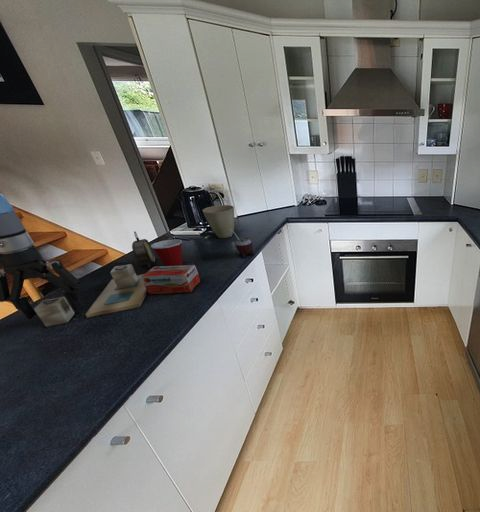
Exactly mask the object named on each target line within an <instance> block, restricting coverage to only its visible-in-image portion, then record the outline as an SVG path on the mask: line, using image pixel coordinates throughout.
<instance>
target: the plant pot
mask: <svg viewBox="0 0 480 512" xmlns="http://www.w3.org/2000/svg"><path fill="white" fill-rule="evenodd" d="M201 211H202V213H203V215H204V217H205V219H206V221H207V223H208V225H209V226H210V228H211V230H212V231H213V233H214V234H215V235H216V236H217V238H218V239H227V238H231V237H232V236H233V235H234V234H233V232H235V231H234V229H235V206H233V205H230V204H228V205H227V204H220V205H211V206H208V207H205V208H203V209H202V210H201ZM227 229H229V230H232V231H233V232H231V231H229V230H227Z"/></svg>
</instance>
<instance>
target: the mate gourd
mask: <svg viewBox="0 0 480 512" xmlns="http://www.w3.org/2000/svg"><path fill="white" fill-rule="evenodd" d="M227 230H229V229H227ZM229 231H231V232H233V235H234V236H235V237H236V239H237V240H236V242H235V248H236V251H238V252H239V256H242V258H243V259H245V258H246V257H248V256H251V257H252V256H254V254H253V247H254V245H253V242H252V240H251V239H250V238H248V237H242V238H241V237H240V238H239V237H238V235H237V234H236V232H235V231H232V230H229Z"/></svg>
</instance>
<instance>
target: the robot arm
mask: <svg viewBox="0 0 480 512" xmlns="http://www.w3.org/2000/svg"><path fill="white" fill-rule="evenodd" d="M0 265H1V266H2V267H3V268H0V303H5V302H10V303H11V304H12V305H13V307H14V308H15V309H16V310H17V311H21V312H22V313H23V314H24V316H25V317H26V319H27V320H32V319H33V318H34V317H35V316H36V315H37V313H36V311H35V310H34V308H33V306H32V305H31V304H30V302H29V300H28V299H27V298H26V297H25V296H22V292H23V287H24V284H25V280H30V279H38V278H39V279H41V280H45V281H46V282H48V283H51V284H52V285H54V286H56V287H58V288H60V289H61V290H63V291H65V293H64V295H65V298H66V300H67V301H68V303H69V305H70V306H71V308H72V310H73V311H78V310H79V309H80V308H81V307H82V304H81V302H80V300H79V298H80V297H81V295H80V294H79V291H78V290H79V289H80V287H81V286H82V285H83V283H82V282H81V281H80V280H79V279H78V278H77V277H76V276H75V275H73V274H72V273H71V272H70V271H69V270H68V269H67V268H66V267H65V266H64V264H63V263H62V261H61V260H60V259H56V260H55V261H46V260H45V259H43V256H42V253H41V252H40V250H39V248H38V247H37V246H36V245H35V242H34V240H33V239H32V237H31V235H30V234H29V233H28V231H27V230H26V227H25V226H24V224H23V222H22V220H21V219H20V218H19V216H18V214H17V212H16V210H15V209H14V206H13V205H12V204H11V203H10V202H9V201H8V199H7V198H6V196H5V195H3V194H2V193H0ZM48 268H50V269H48ZM52 270H53V271H52ZM53 272H55V273H56V274H55V273H53ZM7 274H8V275H10V276H13V277H12V281H11V283H12V285H11V288H9V282H8V278H7Z"/></svg>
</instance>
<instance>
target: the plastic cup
mask: <svg viewBox="0 0 480 512" xmlns="http://www.w3.org/2000/svg"><path fill="white" fill-rule="evenodd" d="M182 243H183V240H182V239H164V240H161V241H157V242H154V243H151V244H150V245H151V247H152V249H153V252H154V253H155V254H156V255H157V256H158V258H159V259H160V261H161V263H162V264H163V266H184V263H183V262H184V261H183V253H182V252H183V251H182Z"/></svg>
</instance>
